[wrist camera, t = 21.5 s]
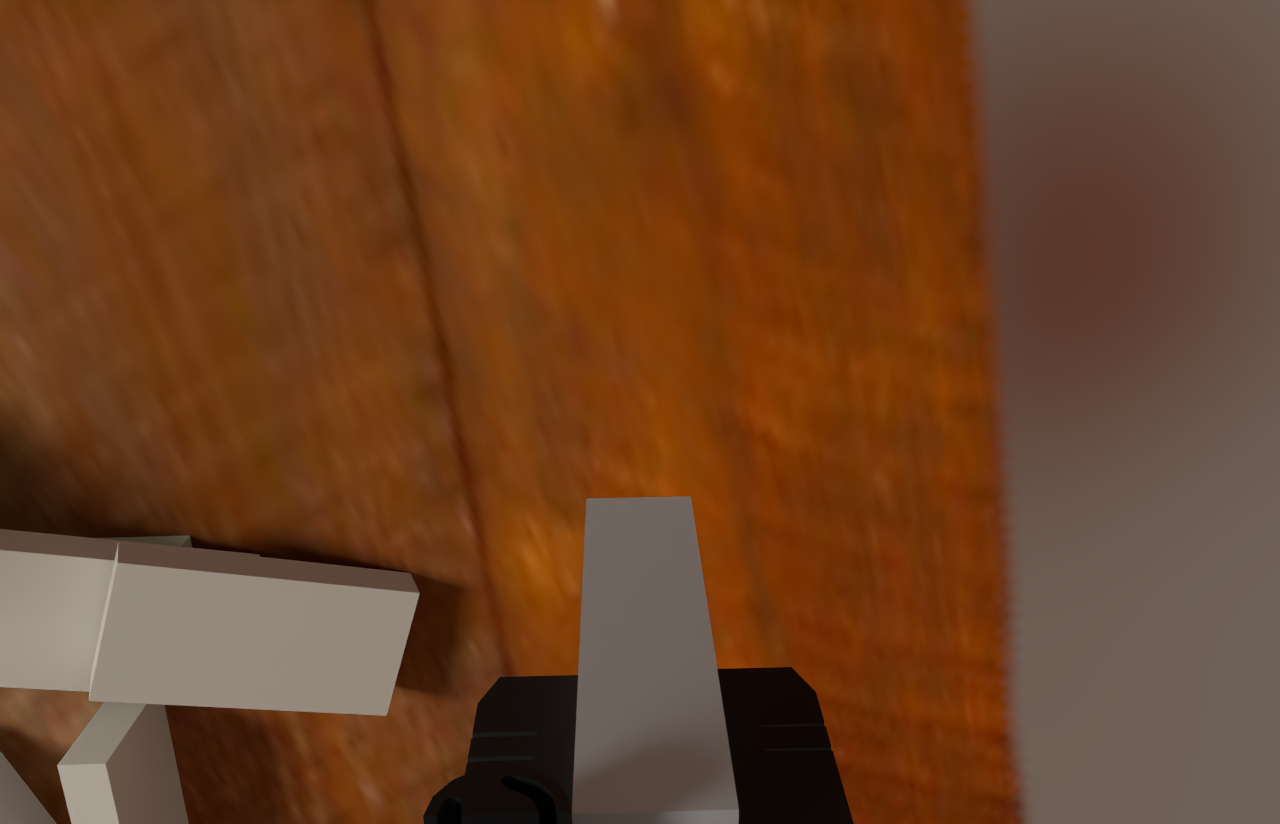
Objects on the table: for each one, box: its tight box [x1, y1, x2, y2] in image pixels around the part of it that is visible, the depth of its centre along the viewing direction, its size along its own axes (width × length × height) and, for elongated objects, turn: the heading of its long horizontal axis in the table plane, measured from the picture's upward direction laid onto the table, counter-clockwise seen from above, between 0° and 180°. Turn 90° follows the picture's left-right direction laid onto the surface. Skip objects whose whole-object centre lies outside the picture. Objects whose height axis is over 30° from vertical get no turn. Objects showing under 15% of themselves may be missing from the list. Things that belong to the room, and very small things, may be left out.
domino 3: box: [89, 541, 420, 716], centre depth 47 cm, size 2×6×12 cm
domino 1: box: [0, 529, 260, 692], centre depth 47 cm, size 2×6×12 cm
